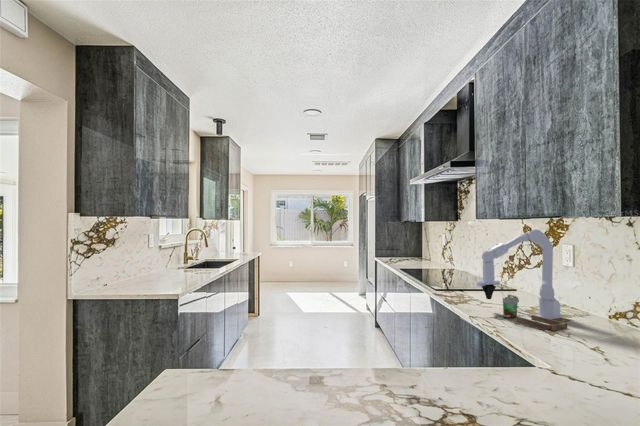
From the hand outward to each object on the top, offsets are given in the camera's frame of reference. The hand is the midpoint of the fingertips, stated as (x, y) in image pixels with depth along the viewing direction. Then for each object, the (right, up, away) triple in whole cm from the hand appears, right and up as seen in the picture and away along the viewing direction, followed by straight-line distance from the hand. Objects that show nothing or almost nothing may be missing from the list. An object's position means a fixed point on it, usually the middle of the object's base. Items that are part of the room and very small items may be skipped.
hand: (488, 298), depth 204 cm
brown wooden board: (+12, -6, -27) cm, 30 cm away
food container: (+6, -6, -14) cm, 16 cm away
